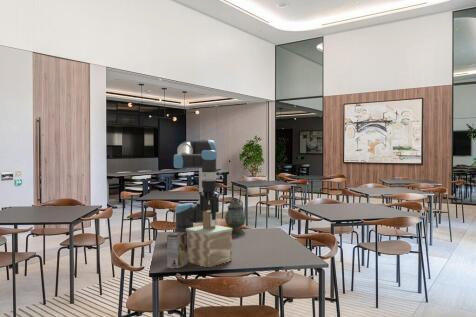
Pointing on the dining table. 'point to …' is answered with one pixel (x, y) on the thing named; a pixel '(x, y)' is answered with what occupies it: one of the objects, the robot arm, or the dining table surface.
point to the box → (209, 248)
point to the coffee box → (176, 250)
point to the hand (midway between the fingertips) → (209, 225)
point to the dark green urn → (235, 217)
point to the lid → (208, 226)
